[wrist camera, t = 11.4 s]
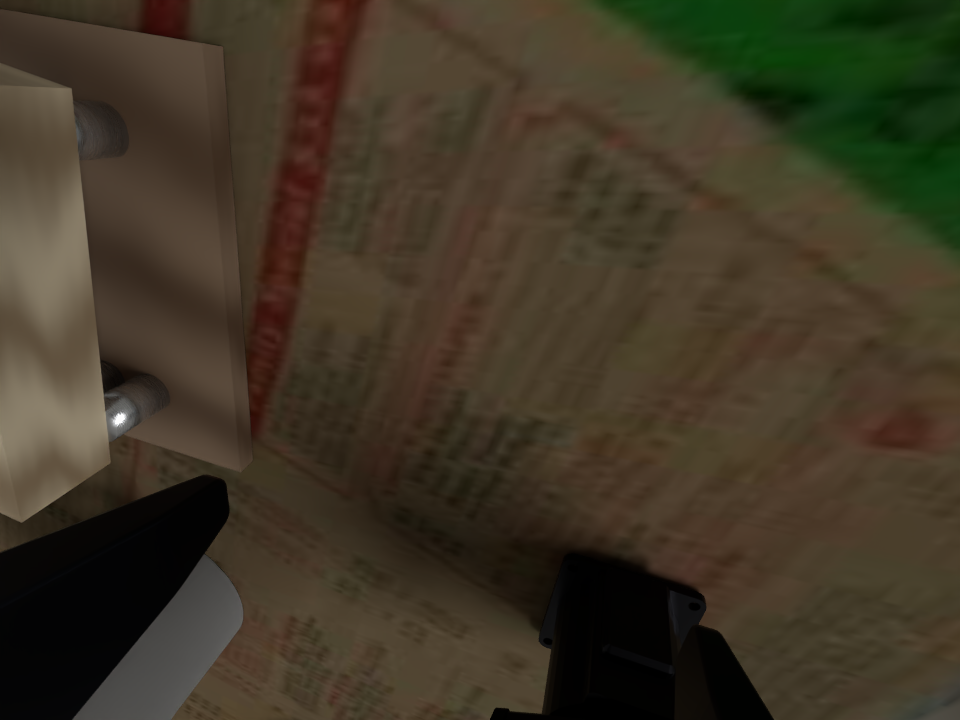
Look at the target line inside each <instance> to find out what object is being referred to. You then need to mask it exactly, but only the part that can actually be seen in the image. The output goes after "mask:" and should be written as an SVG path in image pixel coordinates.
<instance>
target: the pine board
mask: <svg viewBox="0 0 960 720" xmlns="http://www.w3.org/2000/svg"><path fill="white" fill-rule="evenodd" d="M110 463H111V461H110V452H109V442H108V432H107V423H106V413H105V404H104V394H103V384H102V375H101V365H100V356H99V346H98V336H97V327H96V317H95V307H94V298H93V288H92V279H91V269H90V259H89V250H88V240H87V231H86V221H85V211H84V202H83V192H82V183H81V173H80V163H79V154H78V144H77V135H76V125H75V115H74V106H73V96H72V88H69V87H66V86H63V85H60V84H58V83H55V82H52V81H49V80H47V79H44V78H41V77H38V76H35V75H33V74H30V73H27V72H24V71H21V70H19V69H16V68H13V67H10V66H7V65H5V64H2V63H0V513H2V514H4V515H6V516H8V517H10V518H12V519H15V520H17V521H19V522H21V523H22V522H24V521H25V520H27V519H28V518H30V517H31V516H33V515H34V514H36V513H37V512H39V511H40V510H42V509H43V508H44V507H46V506H47V505H49V504H50V503H52V502H53V501H55V500H56V499H58V498H59V497H61V496H62V495H64V494H65V493H67V492H68V491H70V490H71V489H73V488H74V487H76V486H77V485H79V484H80V483H82V482H83V481H85V480H86V479H88V478H89V477H91V476H92V475H94V474H95V473H97V472H98V471H100V470H101V469H103V468H104V467H106V466H107V465H108V464H110Z"/></svg>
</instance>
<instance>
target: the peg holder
mask: <svg viewBox="0 0 960 720" xmlns="http://www.w3.org/2000/svg"><path fill="white" fill-rule="evenodd" d="M0 63H2V64H5V65H7V66H10V67H13V68H16V69H19V70H21V71H24V72H27V73H30V74H33V75H35V76H38V77H41V78H44V79H47V80H49V81H52V82H55V83H58V84H60V85H63V86H66V87H69V88H72V96H73V106H74V115H75V125H76V135H77V144H78V154H79V163H80V173H81V183H82V192H83V202H84V211H85V221H86V231H87V240H88V250H89V259H90V269H91V279H92V288H93V298H94V307H95V317H96V327H97V336H98V346H99V356H100V365H101V375H102V384H103V394H104V404H105V413H106V423H107V432H108V442H111V441H113V440H115V439H116V438H118V437H120V436H121V435H126V436H129V437H132V438H135V439H138V440H142V441H145V442H148V443H151V444H154V445H157V446H160V447H163V448H166V449H170V450H173V451H176V452H179V453H182V454H185V455H188V456H191V457H194V458H198V459H201V460H204V461H207V462H210V463H213V464H216V465H219V466H222V467H226V468H229V469H232V470H235V471H238V472H242V471H243V470H244V469H245V468H246V467H247V466H248V465H249V464H250V463H251V462H252V461H253V453H252V439H251V425H250V412H249V398H248V384H247V370H246V357H245V343H244V329H243V316H242V302H241V288H240V275H239V261H238V247H237V233H236V220H235V206H234V192H233V179H232V165H231V151H230V137H229V124H228V110H227V96H226V83H225V69H224V55H223V47H222V46H216V45H210V44H204V43H198V42H193V41H187V40H181V39H175V38H169V37H163V36H157V35H151V34H146V33H140V32H134V31H128V30H122V29H116V28H110V27H104V26H98V25H93V24H87V23H81V22H75V21H69V20H63V19H57V18H51V17H46V16H40V15H34V14H28V13H22V12H16V11H10V10H4V9H0Z"/></svg>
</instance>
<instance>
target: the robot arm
mask: <svg viewBox="0 0 960 720" xmlns="http://www.w3.org/2000/svg"><path fill="white" fill-rule="evenodd" d="M229 511H230V508H229V501H228V493H227V485H226V483H225V481H224V480H223V479H220V478H217V477H214V476H211V475H201V476H198V477H195V478H193V479H190V480H188V481H185V482H182V483H180V484H177V485H175V486H172V487H169V488H167V489H164V490H161V491H159V492H156V493H154V494H151V495H148V496H146V497H143V498H141V499H138V500H135V501H133V502H130V503H127V504H125V505H122V506H120V507H117V508H114V509H112V510H109V511H107V512H104V513H101V514H99V515H96V516H93V517H91V518H88V519H86V520H83V521H80V522H78V523H75V524H72V525H70V526H67V527H65V528H62V529H59V530H57V531H54V532H52V533H49V534H46V535H44V536H41V537H38V538H36V539H33V540H31V541H28V542H25V543H23V544H20V545H17V546H15V547H12V548H10V549H7V550H4V551H2V552H0V720H73V718H74V717H75V716H76V715H77V713H78V712H79V711H80V710H81V709H82V707H83V706H84V705H85V704H86V703H87V701H88V700H89V699H90V698H91V697H92V695H93V694H94V693H95V692H96V690H97V689H98V688H99V687H100V686H101V684H102V683H103V682H104V681H105V680H106V678H107V677H108V676H109V675H110V674H111V672H112V671H113V670H114V669H115V668H116V666H117V665H118V664H119V663H120V661H121V660H122V659H123V658H124V657H125V655H126V654H127V653H128V652H129V651H130V649H131V648H132V647H133V646H134V645H135V643H136V642H137V641H138V640H139V638H140V637H141V636H142V635H143V634H144V632H145V631H146V630H147V629H148V628H149V626H150V625H151V624H152V623H153V622H154V620H155V619H156V618H157V617H158V616H159V614H160V613H161V612H162V611H163V609H164V608H165V607H166V606H167V605H168V603H169V602H170V601H171V600H172V598H173V597H174V596H175V595H176V593H177V592H178V591H179V589H180V588H181V587H182V585H183V584H184V583H185V581H186V580H187V578H188V577H189V576H190V574H191V573H192V571H193V570H194V568H195V567H196V565H197V564H198V562H199V561H200V559H201V558H202V556H203V555H204V554H205V552H206V551H207V549H208V548H209V546H210V545H211V543H212V542H213V540H214V539H215V537H216V536H217V535H218V533H219V532H220V530H221V529H222V527H223V526H224V524H225V523H226V521H227V519H228V516H229ZM571 564H575V565H576V566H574V565H571ZM693 602H694V603H693ZM705 611H706V601H705V598H704V596H703V595H702V594H701V593H698V592H696V591H693V590H689V589H686V588H683V587H680V586H677V585H673V584H670V583H667V582H664V581H661V580H658V579H654V578H651V577H648V576H645V575H642V574H638V573H635V572H632V571H629V570H626V569H622V568H619V567H616V566H613V565H610V564H606V563H603V562H600V561H597V560H594V559H590V558H587V557H584V556H581V555H578V554H573V553H572V554H567V555H565V557H564V558H563V561H562V564H561V568H560V571H559V574H558V577H557V580H556V583H555V586H554V589H553V592H552V595H551V599H550V602H549V605H548V608H547V611H546V614H545V617H544V620H543V623H542V627H541V630H540V634H539V642H540V644H541V645H542V646H544V647H546V648H549V649H551V655H550V662H549V668H548V675H547V682H546V689H545V696H544V702H543V709H542V714H537V713H524V712H512V711H509V709H507V708H495V709H494V712H493V714H492V716H491V718H490V720H774V719H773V717H772V716H771V714H770V712H769V711H768V709H767V707H766V706H765V704H764V702H763V701H762V699H761V698H760V696H759V694H758V693H757V691H756V689H755V688H754V686H753V685H752V683H751V681H750V680H749V678H748V676H747V675H746V673H745V672H744V670H743V668H742V667H741V665H740V663H739V662H738V660H737V658H736V657H735V655H734V654H733V652H732V650H731V649H730V647H729V645H728V644H727V642H726V641H725V639H724V637H723V636H722V634H721V633H720V632H718V631H717V630H715V629H711V628H708V627H705V626H702V625H698V624H699V622H700V620H701V618H702V616H703V615H704V613H705Z"/></svg>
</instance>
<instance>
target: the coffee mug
mask: <svg viewBox="0 0 960 720" xmlns="http://www.w3.org/2000/svg"><path fill="white" fill-rule="evenodd" d="M242 622H243V607H242V603H241V600H240V597H239V595H238V592H237V590H236V589H235V587H234V585H233V584H232V582H231V581H230V579H229V578H228V577H227V575H226V574H225V573H224V572H223V571H222V570H221V569H220V568H219V567H218V566H217V565H216V563H215V562H214V561H212V560H211V559H210V558H209V557H208V556H206V555H205V554H204V555H203V556H202V558H201V559H200V561H199V562H198V564H197V565H196V567H195V568H194V570H193V571H192V573H191V574H190V576H189V577H188V578H187V580H186V581H185V583H184V584H183V585H182V587H181V588H180V589H179V591H178V592H177V593H176V595H175V596H174V597H173V598H172V600H171V601H170V602H169V603H168V605H167V606H166V607H165V608H164V609H163V611H162V612H161V613H160V614H159V616H158V617H157V618H156V619H155V620H154V622H153V623H152V624H151V625H150V626H149V628H148V629H147V630H146V631H145V632H144V634H143V635H142V636H141V637H140V638H139V640H138V641H137V642H136V643H135V645H134V646H133V647H132V648H131V649H130V651H129V652H128V653H127V654H126V655H125V657H124V658H123V659H122V660H121V661H120V663H119V664H118V665H117V666H116V668H115V669H114V670H113V671H112V672H111V674H110V675H109V676H108V677H107V678H106V680H105V681H104V682H103V683H102V684H101V686H100V687H99V688H98V689H97V690H96V692H95V693H94V694H93V695H92V697H91V698H90V699H89V700H88V701H87V703H86V704H85V705H84V706H83V707H82V709H81V710H80V711H79V712H78V713H77V715H76V716H75V717H74V718H73V720H171V718H172V717H173V716H174V714H175V713H176V712H177V710H178V709H179V708H180V706H181V705H182V704H183V702H184V701H185V700H186V699H187V697H188V696H189V695H190V693H191V692H192V691H193V689H194V688H195V687H196V685H197V684H198V683H199V681H200V680H201V679H202V677H203V676H204V675H205V674H206V672H207V671H208V670H209V668H210V667H211V666H212V664H213V663H214V662H215V660H216V659H217V658H218V656H219V655H220V654H221V652H222V651H223V650H224V648H225V647H226V646H227V645H228V643H229V642H230V641H231V639H232V638H233V637H234V635H235V634H236V633H237V631H238V630H239V628H240V627H241V625H242Z"/></svg>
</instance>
